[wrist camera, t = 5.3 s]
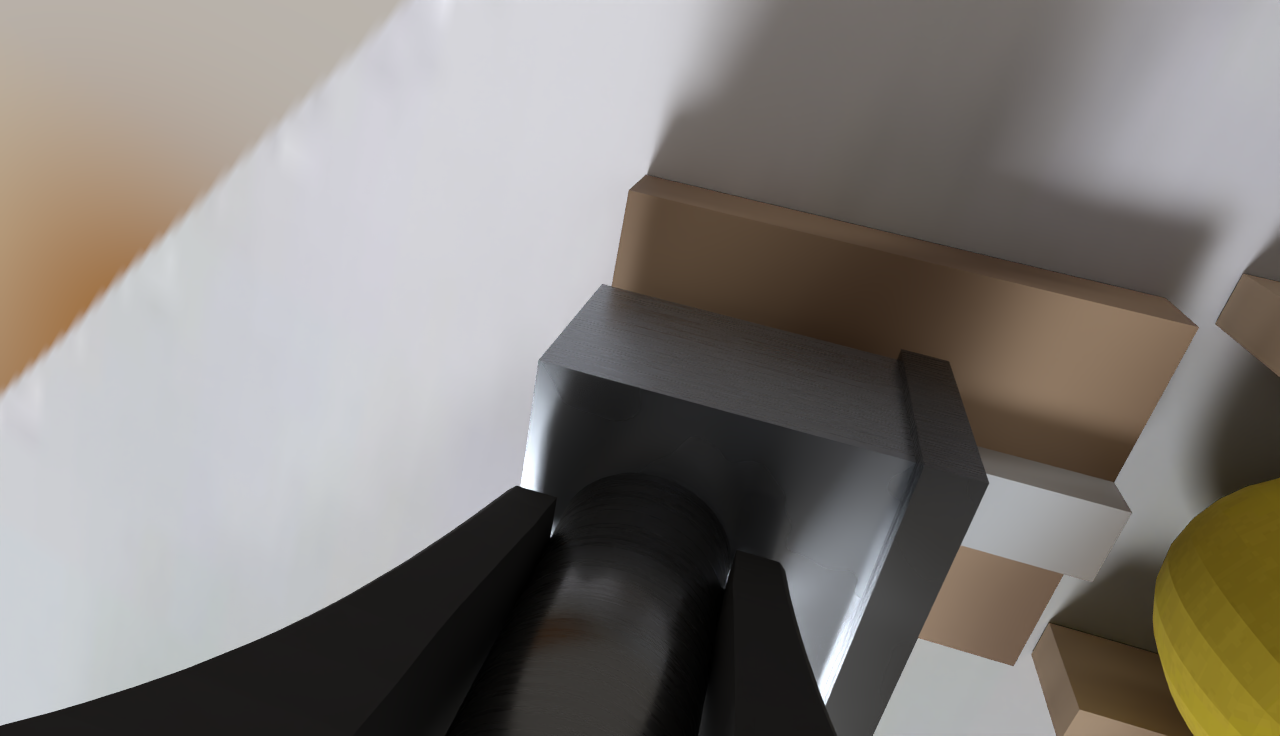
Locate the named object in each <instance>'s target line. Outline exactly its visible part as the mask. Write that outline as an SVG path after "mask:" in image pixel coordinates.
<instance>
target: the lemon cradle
mask: <svg viewBox="0 0 1280 736" xmlns="http://www.w3.org/2000/svg"><path fill="white" fill-rule="evenodd" d="M1216 325H1217V326H1218V327H1220V328H1221V329H1222V330H1223V331H1224V332H1226V333H1227V334H1228V335H1229V336H1230V337H1232V338H1233V339H1234V340H1235V341H1237V342H1238V343H1239V344H1240V345H1241V346H1243V347H1244V348H1245V349H1246V350H1247V351H1249V352H1250V353H1251V354H1252V355H1253V356H1255V357H1256V358H1257V359H1258V360H1260V361H1261V362H1262V363H1263V364H1264V365H1266V366H1267V367H1268V368H1269V369H1270V370H1272V371H1273V372H1274V373H1275V374H1276V375H1278V376H1279V377H1280V282H1278V281H1273V280H1269V279H1265V278H1260V277H1256V276H1252V275H1247V274H1243V275H1242V277H1241V279H1240V280H1239V282H1238V284H1237V286H1236V288H1235V289H1234V291H1233V293H1232V295H1231V297H1230V298H1229V300H1228V302H1227V304H1226V306H1225V307H1224V309H1223V311H1222V313H1221V315H1220V316H1219V318H1218V320H1217V322H1216ZM1031 655H1032V658H1033V661H1034V664H1035V668H1036V671H1037V674H1038V677H1039V681H1040V684H1041V687H1042V690H1043V694H1044V697H1045V700H1046V703H1047V707H1048V710H1049V713H1050V716H1051V720H1052V723H1053V726H1054V729H1055V733H1056V736H1194V735H1193V733H1192V732H1191V730H1190V729H1189V728H1188V726H1187V724H1186V722H1185V721H1184V719H1183V717H1182V715H1181V714H1180V712H1179V710H1178V708H1177V706H1176V703H1175V701H1174V699H1173V697H1172V695H1171V692H1170V689H1169V686H1168V683H1167V680H1166V677H1165V674H1164V670H1163V667H1162V663H1161V660H1160V656H1159V654H1156V653H1153V652H1149V651H1146V650H1142V649H1139V648H1135V647H1132V646H1128V645H1125V644H1121V643H1118V642H1114V641H1111V640H1107V639H1104V638H1101V637H1097V636H1094V635H1090V634H1087V633H1083V632H1080V631H1076V630H1073V629H1069V628H1066V627H1062V626H1059V625H1055V624H1052V623H1049V624H1048V625H1047V627H1046V629H1045V631H1044V633H1043V634H1042V636H1041V638H1040V640H1039V642H1038V643H1037V645H1036V647H1035V649H1034V651H1033V652H1032V654H1031Z"/></svg>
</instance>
